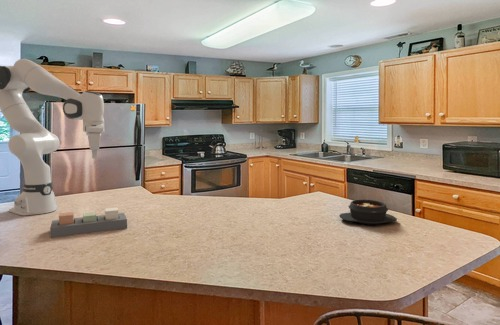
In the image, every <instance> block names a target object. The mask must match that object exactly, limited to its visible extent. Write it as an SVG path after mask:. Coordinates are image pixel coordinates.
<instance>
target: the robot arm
mask: <svg viewBox="0 0 500 325" xmlns="http://www.w3.org/2000/svg"><path fill="white" fill-rule="evenodd" d="M30 90H32V91H34V92H36V93H38V94H41V95H45V96H50V97H51V96H52V97H57V98H61V99H63V100H65V101H64V102H63V105H62V110H63V111H62V112H63V114H64V115H65V117H66V118H67V119H71V120H79V121H80V120H82V132H85V135H86V136H87V139H88V146H89V151H91V158H92V160H93V159H95V160H96V159H97V158H98V156H97V153H98V151H100V145H101V137H102V133H105V118H104V114H105V103H104V102H105V101H104V97H103V95H102V94H101V93H100V92H97V91H92V90H84V91H82V93H81V92H79V91H77V90H76V89H74V88H73V87H71V86H70V85H68V84H66V83H65V82H64V81H62V80H60V79H59V78H58V77H57V76H55V75H54V74H52V73H51V72H50V71H48V70H47V69H46V68H44V67H42V66H41V65H39V64H38V63H36V62H35V61H32V60H30V59H28V58H21V59H18V60H17V61H15V62H14V63H13V65H0V110H1V113H2V115H3V117H4V118H5V120H6V122H7V123H8V125H9V126H10V128H11V129H13V130H14V131H16V132H18V133H19V134H15V135H13V136H12V137H10V139H9V140H8V146H7V147H8V149H9V151H10V153H11V154H13V155H14V156H15V157H17V159H18V160H19V161H20V163H21V165H22V169H23V175H24V184H22V185H21V186H22V188H23V189H22V192H21V193H20V194H19V195H18V196H17V197H16V198H15V199H14V204H13V205H14V206H13V207H11V208H9V209H8V212H10V213H13V214H15V215H19V216H29V215H31V216H33V215H34V216H35V215H42V214H47V213H51V212H55V211H57V210H58V208H59V205H58V204H57V201H56V196H55V192H54V191H53V189H54V188H53V185H54V184H53V182H52V177H51V176H52V175H51V174H52V173H51V167H50V165H49V164H47V163H46V162H45V161H44V160H43V156H42V155H48V154H51V153H53V152H55V151H57V150H58V149H59V148H60V144H61V143H60V139H59V137H58V135H56V134H54V133H53V132H50V130H48V129H47V128H45V126H44V125H43V124H41V123H40V122H39V121H38V119H37V118H36V117H35V116H34V114H33V112H32V111H31V109H30V107H29V106H28V104H27V103H26V101H25V99H24V96H23V94H28V93H29V92H30Z"/></svg>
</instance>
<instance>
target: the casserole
mask: <svg viewBox="0 0 500 325" xmlns="http://www.w3.org/2000/svg"><path fill="white" fill-rule="evenodd" d="M348 209H349V211H350V212H344V213H340V214H339V215H338V216H339V218H340V219H342V220H344V221H347V222H354V223H355V222H356V223H359V224H362V225H369V226H371V225H373V226H374V225H375V226H376V225H381V224H384V223H392V222H396V221H398V219H397V218H396V217H395V216H394V215H393V214H392V215H391V214H389V213H387V212H388V211H389V208H388V207H387V204H386V203H385V202H382V201H378V200H374V199H356V200H352V201H351V202H350V204H349V205H348Z"/></svg>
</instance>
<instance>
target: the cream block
mask: <svg viewBox="0 0 500 325" xmlns="http://www.w3.org/2000/svg"><path fill="white" fill-rule="evenodd" d="M118 213H119V209H118V207H109V208H108V207H107V208H104V215H105V220H110V219H119V215H118Z"/></svg>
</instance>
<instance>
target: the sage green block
mask: <svg viewBox="0 0 500 325" xmlns="http://www.w3.org/2000/svg"><path fill="white" fill-rule="evenodd" d="M96 216H97V212H96V211H95V212H87V213H82V217H83V223H84V222H93V221H97V217H96Z"/></svg>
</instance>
